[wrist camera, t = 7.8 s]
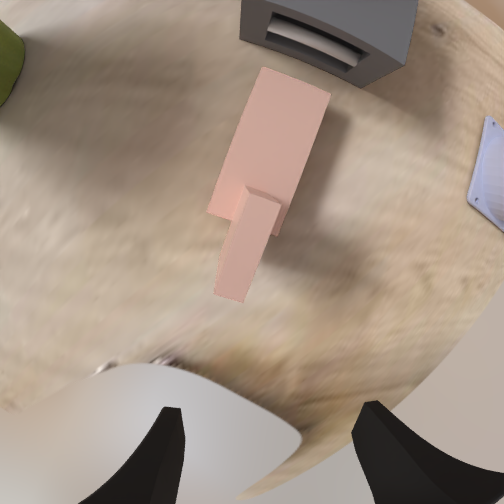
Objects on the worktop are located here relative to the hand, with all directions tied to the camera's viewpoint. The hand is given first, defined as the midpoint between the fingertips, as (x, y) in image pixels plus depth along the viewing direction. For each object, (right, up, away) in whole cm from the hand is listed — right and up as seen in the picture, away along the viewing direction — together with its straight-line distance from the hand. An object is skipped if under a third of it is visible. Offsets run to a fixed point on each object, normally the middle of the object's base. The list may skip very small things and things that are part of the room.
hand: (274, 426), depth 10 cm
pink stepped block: (0, +11, +5) cm, 12 cm away
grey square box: (+3, +22, +4) cm, 22 cm away
